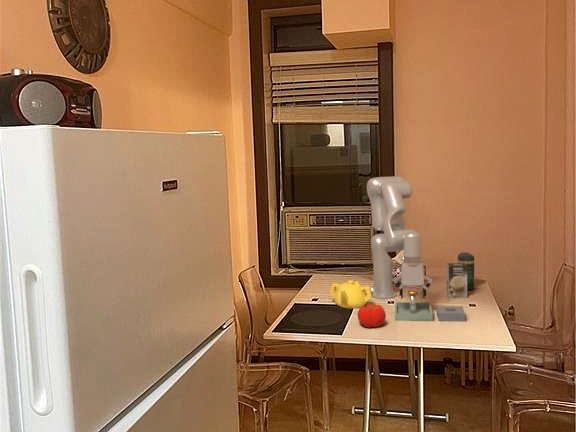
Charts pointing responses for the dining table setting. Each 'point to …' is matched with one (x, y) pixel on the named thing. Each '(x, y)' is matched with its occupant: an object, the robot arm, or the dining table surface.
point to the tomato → (371, 315)
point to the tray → (421, 313)
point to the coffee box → (456, 280)
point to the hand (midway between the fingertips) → (412, 297)
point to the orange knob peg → (412, 300)
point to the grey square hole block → (450, 313)
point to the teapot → (350, 294)
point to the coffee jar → (468, 268)
